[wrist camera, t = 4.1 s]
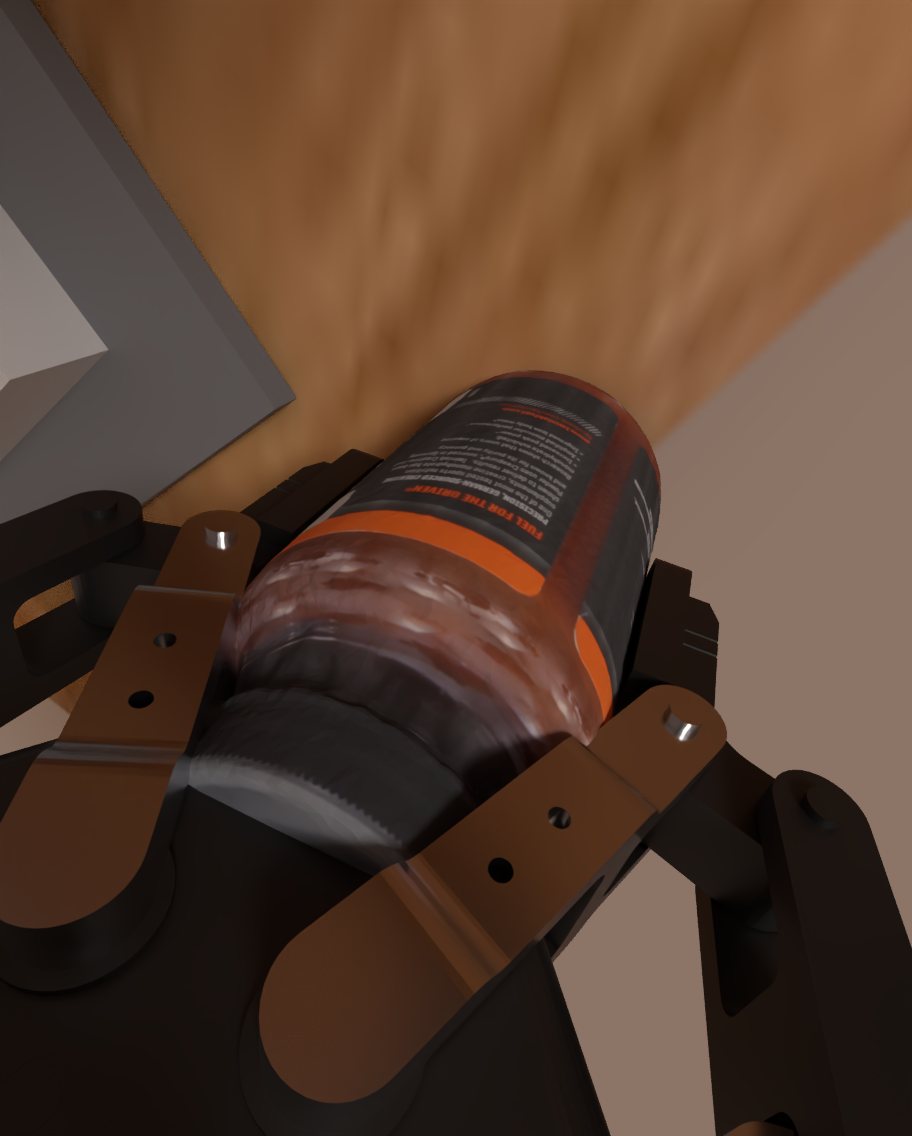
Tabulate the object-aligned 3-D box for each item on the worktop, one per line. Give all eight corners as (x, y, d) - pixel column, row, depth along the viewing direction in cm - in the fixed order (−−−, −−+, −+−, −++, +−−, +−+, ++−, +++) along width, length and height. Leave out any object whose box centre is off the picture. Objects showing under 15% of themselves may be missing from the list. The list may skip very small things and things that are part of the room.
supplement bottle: (400, 395, 16) (-20, 685, 7) (638, 330, 13) (427, 670, 5) (472, 593, 19) (223, 991, 10) (685, 573, 16) (610, 1103, 7)
